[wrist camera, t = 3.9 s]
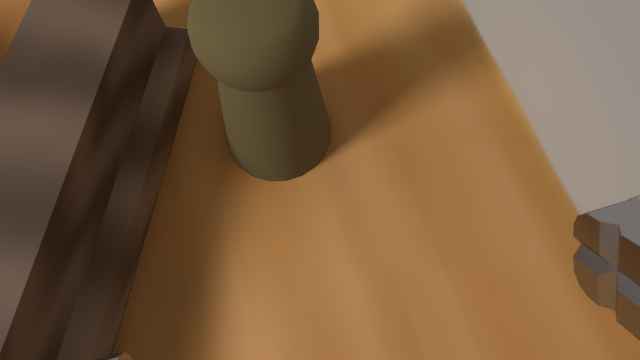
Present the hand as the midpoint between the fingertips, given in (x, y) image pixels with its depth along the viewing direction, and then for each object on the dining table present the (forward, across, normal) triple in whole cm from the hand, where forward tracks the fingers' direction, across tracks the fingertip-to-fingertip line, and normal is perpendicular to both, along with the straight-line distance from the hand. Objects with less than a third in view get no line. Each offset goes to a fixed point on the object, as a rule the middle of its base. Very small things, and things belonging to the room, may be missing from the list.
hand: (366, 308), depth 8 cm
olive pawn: (+20, 0, +3) cm, 20 cm away
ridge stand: (+18, +13, +5) cm, 22 cm away
